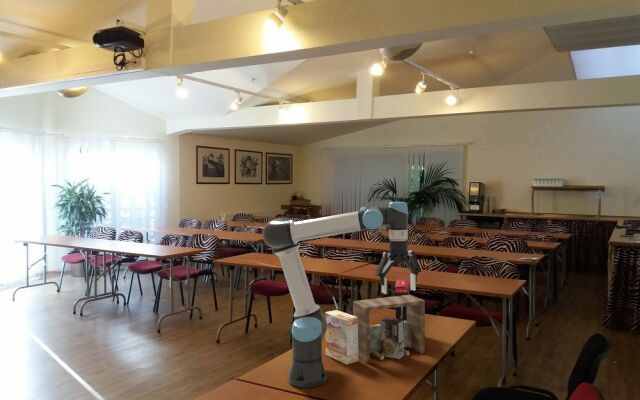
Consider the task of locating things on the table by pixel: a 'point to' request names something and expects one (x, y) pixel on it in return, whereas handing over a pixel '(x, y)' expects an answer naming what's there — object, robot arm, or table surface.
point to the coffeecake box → (341, 336)
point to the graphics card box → (401, 290)
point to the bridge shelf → (371, 334)
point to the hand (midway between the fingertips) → (398, 291)
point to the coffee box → (392, 337)
